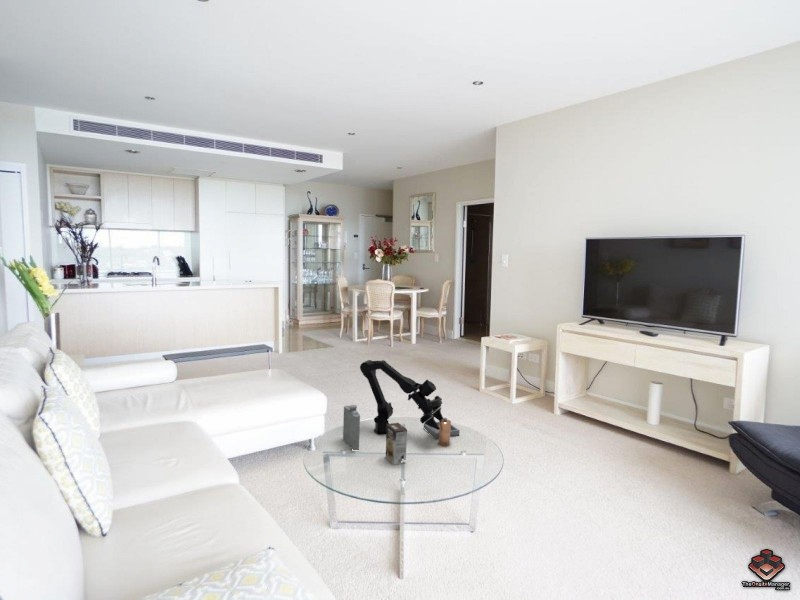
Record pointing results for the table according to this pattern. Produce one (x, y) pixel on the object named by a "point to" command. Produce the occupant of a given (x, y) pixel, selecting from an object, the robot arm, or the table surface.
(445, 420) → the copper bottle
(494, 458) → the table surface
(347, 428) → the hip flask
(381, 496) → the table surface
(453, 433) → the fill tray
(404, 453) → the coffee box
